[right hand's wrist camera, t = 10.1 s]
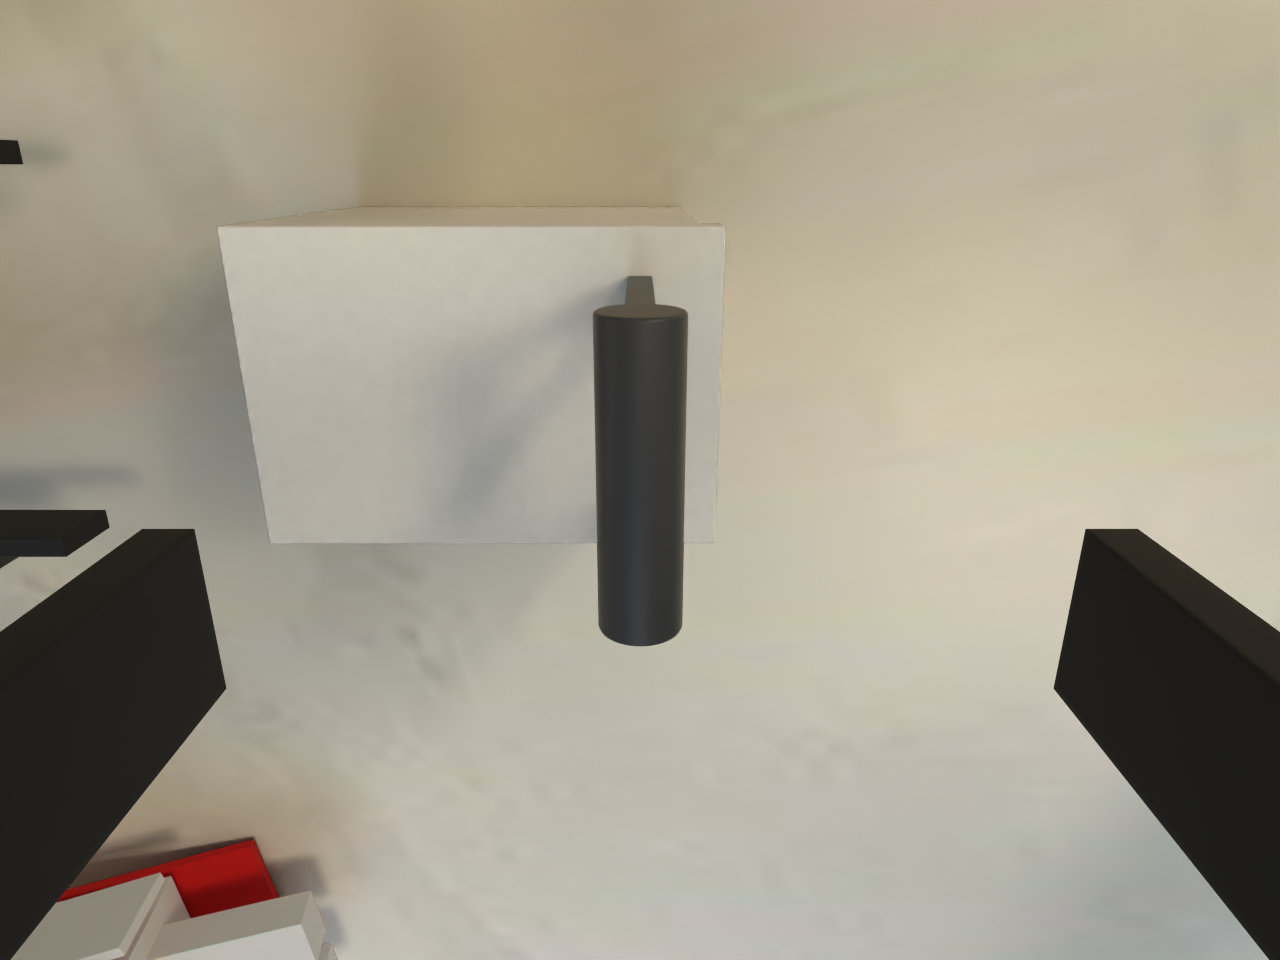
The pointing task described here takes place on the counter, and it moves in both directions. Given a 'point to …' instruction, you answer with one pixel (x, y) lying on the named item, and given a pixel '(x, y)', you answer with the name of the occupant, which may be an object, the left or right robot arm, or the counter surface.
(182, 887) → the toy
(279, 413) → the lid
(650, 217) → the chest
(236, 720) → the counter surface
